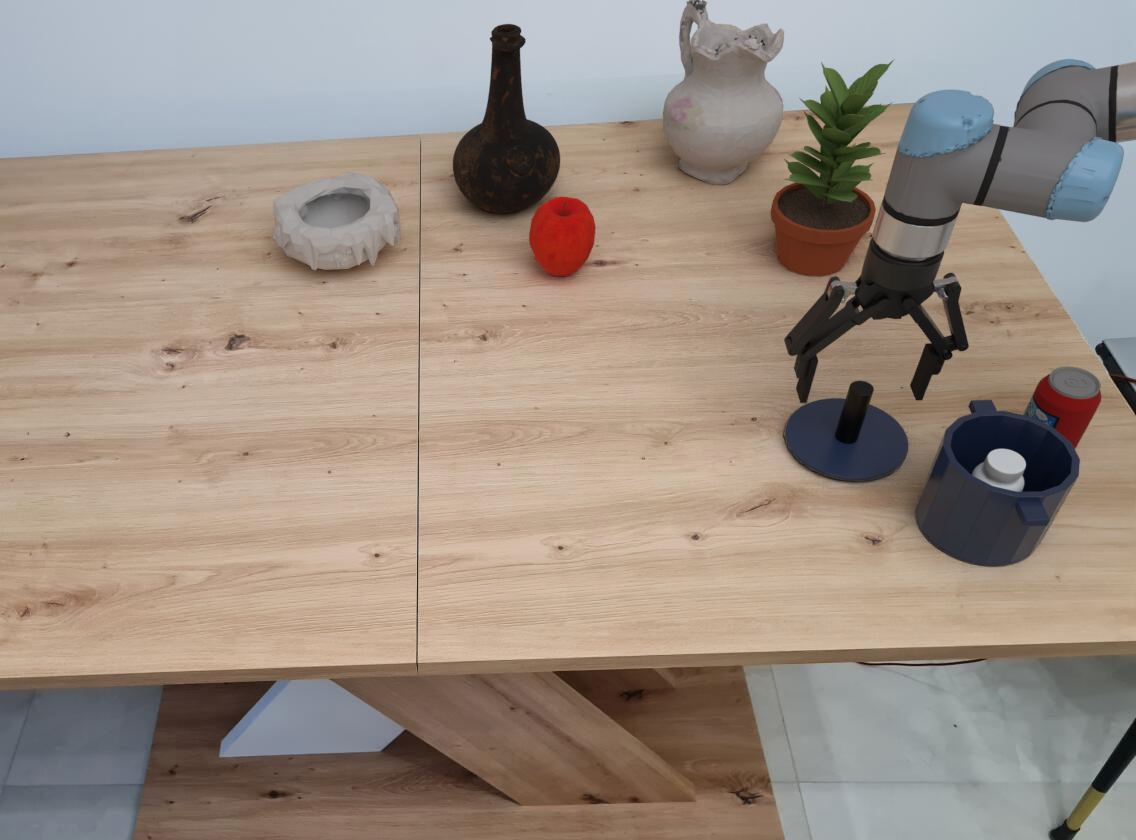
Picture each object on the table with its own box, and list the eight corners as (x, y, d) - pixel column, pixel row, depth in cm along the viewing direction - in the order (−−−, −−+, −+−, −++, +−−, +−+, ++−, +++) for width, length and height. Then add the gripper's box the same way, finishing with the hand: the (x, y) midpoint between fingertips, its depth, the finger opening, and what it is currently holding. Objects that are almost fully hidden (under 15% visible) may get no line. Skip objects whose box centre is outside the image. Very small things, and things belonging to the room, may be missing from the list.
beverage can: (1002, 435, 133) (1038, 360, 124) (1061, 439, 131) (1100, 364, 122) (1011, 472, 128) (1048, 397, 119) (1071, 477, 127) (1113, 402, 118)
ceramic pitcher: (625, 167, 184) (629, 26, 165) (695, 117, 191) (707, -24, 171) (727, 211, 173) (745, 65, 153) (798, 156, 180) (823, 9, 160)
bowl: (303, 306, 162) (292, 250, 154) (261, 242, 174) (250, 187, 167) (425, 267, 166) (421, 211, 159) (375, 208, 179) (369, 153, 172)
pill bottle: (947, 504, 125) (974, 444, 118) (994, 502, 125) (1024, 442, 117) (961, 537, 121) (989, 478, 114) (1009, 536, 121) (1041, 477, 114)
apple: (538, 295, 159) (539, 224, 150) (520, 260, 166) (520, 189, 157) (601, 283, 160) (606, 212, 151) (581, 248, 167) (585, 178, 157)
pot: (1009, 464, 129) (1044, 393, 121) (1066, 584, 117) (1110, 514, 108) (895, 467, 130) (922, 396, 122) (939, 586, 118) (973, 516, 109)
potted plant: (740, 245, 164) (775, 51, 142) (826, 222, 166) (874, 29, 144) (792, 297, 154) (838, 98, 132) (882, 272, 157) (943, 73, 134)
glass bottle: (469, 236, 171) (463, 64, 150) (442, 182, 183) (433, 16, 162) (573, 215, 173) (581, 43, 152) (540, 163, 185) (543, -3, 164)
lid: (889, 403, 138) (908, 347, 131) (920, 483, 128) (943, 427, 121) (774, 406, 139) (787, 351, 132) (796, 486, 129) (811, 431, 123)
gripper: (1017, 219, 113) (955, 372, 129) (782, 227, 115) (748, 377, 131) (1042, 259, 108) (974, 412, 124) (795, 266, 110) (759, 417, 126)
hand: (858, 394), depth 128 cm, fingers open, 13 cm apart
